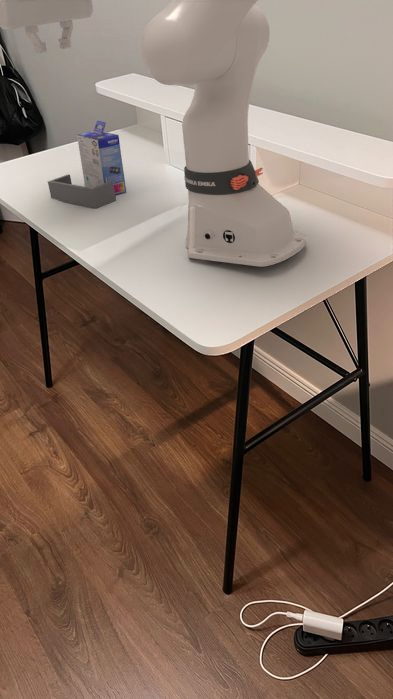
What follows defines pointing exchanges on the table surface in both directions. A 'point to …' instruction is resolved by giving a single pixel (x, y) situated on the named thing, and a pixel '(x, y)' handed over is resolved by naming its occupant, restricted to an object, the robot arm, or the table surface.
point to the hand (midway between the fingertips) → (53, 50)
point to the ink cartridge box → (101, 158)
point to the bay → (81, 192)
